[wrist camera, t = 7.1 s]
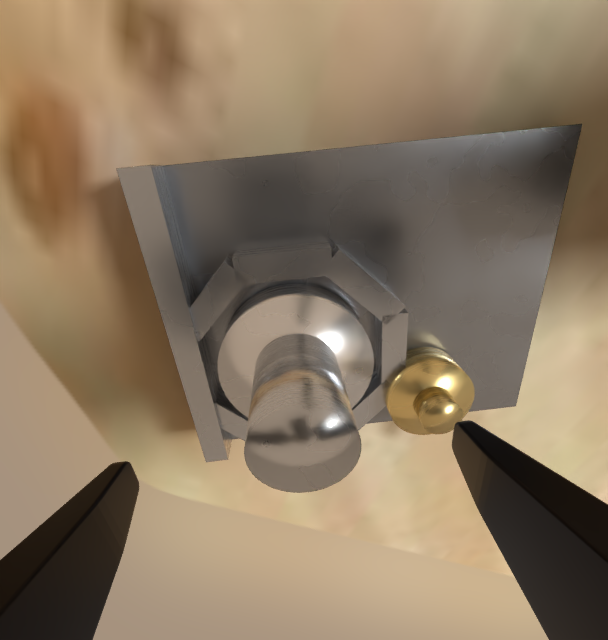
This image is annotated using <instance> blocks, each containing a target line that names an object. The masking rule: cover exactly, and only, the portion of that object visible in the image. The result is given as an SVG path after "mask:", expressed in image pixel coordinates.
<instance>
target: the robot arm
mask: <svg viewBox="0 0 608 640" xmlns="http://www.w3.org/2000/svg"><path fill="white" fill-rule="evenodd" d="M452 449H453V452H454V455H455V457H456V459H457V462H458V464H459V466H460V469H461V471H462V474H463V476H464V478H465V481H466V483H467V485H468V488H469V490H470V492H471V495H472V497H473V499H474V502H475V504H476V506H477V508H478V510H479V512H480V514H481V516H482V518H483V520H484V521H485V523H486V525H487V527H488V529H489V531H490V532H491V534H492V536H493V538H494V540H495V542H496V543H497V545H498V547H499V549H500V551H501V553H502V554H503V556H504V558H505V560H506V562H507V564H508V565H509V567H510V569H511V571H512V573H513V575H514V576H515V578H516V580H517V582H518V584H519V585H520V587H521V589H522V591H523V593H524V595H525V597H526V598H527V600H528V602H529V604H530V605H531V608H532V609H533V611H534V613H535V615H536V617H537V619H538V620H539V622H540V624H541V626H542V628H543V630H544V631H545V633H546V635H547V637H548V639H549V640H608V504H606V503H605V502H603V501H601V500H600V499H598V498H596V497H595V496H593V495H592V494H590V493H588V492H587V491H585V490H583V489H582V488H580V487H579V486H577V485H575V484H574V483H572V482H570V481H569V480H567V479H566V478H564V477H562V476H561V475H559V474H557V473H556V472H554V471H553V470H551V469H549V468H548V467H546V466H544V465H543V464H541V463H540V462H538V461H536V460H535V459H533V458H531V457H530V456H528V455H527V454H525V453H523V452H522V451H520V450H518V449H517V448H515V447H514V446H512V445H510V444H509V443H507V442H505V441H504V440H502V439H501V438H499V437H497V436H496V435H494V434H492V433H491V432H489V431H488V430H486V429H484V428H483V427H481V426H479V425H478V424H476V423H475V422H473V421H460V422H456V423H455V426H454V432H453V439H452ZM138 492H139V482H138V479H137V477H136V475H135V472H134V470H133V468H132V466H131V464H130V463H129V462H127V461H125V462H117V463H113V464H111V465H109V466H108V467H107V468H106V469H105V470H104V471H103V472H101V473H100V474H99V475H98V476H97V477H96V478H94V479H93V480H92V481H91V482H90V483H89V484H88V485H86V486H85V487H84V488H83V489H82V490H81V491H79V493H77V494H76V495H75V496H74V497H73V498H71V499H70V500H69V501H68V502H67V503H66V504H64V505H63V506H62V507H61V508H60V509H59V510H58V511H56V512H55V513H54V514H53V515H52V516H51V517H50V518H48V519H47V520H46V521H45V522H44V523H43V524H42V525H40V526H39V527H38V528H37V529H36V530H35V531H33V532H32V533H31V534H30V535H29V536H28V537H27V538H25V539H24V540H23V541H22V542H21V543H20V544H18V545H17V546H16V547H15V548H14V549H13V550H11V551H10V552H9V553H8V554H7V555H6V556H5V557H3V558H2V559H1V560H0V640H93V637H94V634H95V631H96V628H97V625H98V623H99V620H100V617H101V614H102V611H103V608H104V606H105V603H106V600H107V597H108V594H109V591H110V589H111V585H112V582H113V580H114V577H115V574H116V571H117V569H118V566H119V563H120V560H121V557H122V554H123V551H124V547H125V543H126V540H127V536H128V532H129V528H130V524H131V520H132V515H133V511H134V507H135V504H136V500H137V496H138Z"/></svg>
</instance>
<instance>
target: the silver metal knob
mask: <svg viewBox="0 0 608 640" xmlns="http://www.w3.org/2000/svg"><path fill="white" fill-rule="evenodd" d="M373 368H374V356H373V350H372V345H371V343H370V340H369V338H368V335H367V334H366V332H365V330H364V328H363V326H362V324H361V322H360V320H359V318H358V317H357V315H356V313H355V312H354V311H353V309H352V308H351V307H350V306H349V305H348V304H347V303H346V302H345V301H344V300H343V299H341V298H340V297H338V296H337V295H336V294H334V293H332V292H330V291H328V290H326V289H323V288H320V287H317V286H312V285H307V284H286V285H280V286H276V287H272V288H269V289H266V290H264V291H262V292H260V293H258V294H256V295H255V296H253V297H251V298H250V299H249V300H247V301H246V302H245V303H244V304H243V305H242V306H241V307H240V308H239V309H238V310H237V311H236V313H235V314H234V316H233V317H232V319H231V321H230V323H229V325H228V327H227V330H226V333H225V336H224V339H223V342H222V345H221V348H220V351H219V356H218V376H219V381H220V384H221V387H222V389H223V391H224V393H225V395H226V397H227V398H228V399H229V401H230V402H231V403H232V404H233V406H234V407H235V408H236V409H237V410H239V411H240V412H241V413H242V414H243V415H245V416H246V417H248V424H247V432H246V440H245V447H244V456H245V461H246V464H247V466H248V468H249V470H250V471H251V473H252V474H253V475H254V476H255V477H256V478H257V479H258V480H260V481H261V482H262V483H264V484H266V485H267V486H270V487H272V488H274V489H278V490H281V491H286V492H297V493H302V492H312V491H317V490H321V489H324V488H327V487H329V486H331V485H333V484H335V483H337V482H339V481H340V480H342V479H343V478H344V477H346V476H347V475H348V474H349V473H350V472H351V471H352V469H353V468H354V467H355V465H356V464H357V462H358V460H359V457H360V453H361V439H360V435H359V432H358V429H357V425H356V422H355V419H354V415H353V412H352V408H353V407H354V406H355V405H356V404H357V403H358V402H359V400H360V399H361V398H362V396H363V395H364V393H365V392H366V390H367V388H368V386H369V383H370V381H371V378H372V374H373Z"/></svg>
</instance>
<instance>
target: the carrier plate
mask: <svg viewBox="0 0 608 640" xmlns="http://www.w3.org/2000/svg"><path fill="white" fill-rule="evenodd" d="M581 128H582V124H576V125H566V126H556V127H546V128H536V129H526V130H516V131H506V132H496V133H486V134H476V135H466V136H456V137H446V138H436V139H426V140H416V141H406V142H396V143H386V144H376V145H366V146H356V147H346V148H336V149H326V150H316V151H306V152H296V153H286V154H276V155H266V156H256V157H246V158H236V159H226V160H216V161H205V162H195V163H185V164H175V165H165V166H160V165H147V166H137V167H127V168H117V169H116V170H117V173H118V176H119V179H120V183H121V186H122V189H123V192H124V196H125V199H126V202H127V205H128V209H129V212H130V215H131V219H132V222H133V225H134V228H135V232H136V235H137V238H138V241H139V245H140V248H141V251H142V255H143V258H144V261H145V264H146V268H147V271H148V274H149V277H150V281H151V284H152V287H153V290H154V294H155V297H156V300H157V304H158V307H159V310H160V313H161V317H162V320H163V323H164V326H165V330H166V333H167V336H168V339H169V343H170V346H171V349H172V353H173V356H174V359H175V362H176V366H177V369H178V372H179V375H180V379H181V382H182V385H183V389H184V392H185V395H186V398H187V402H188V405H189V408H190V411H191V415H192V418H193V421H194V424H195V428H196V431H197V434H198V438H199V441H200V444H201V447H202V451H203V454H204V457H205V460H206V462H211V461H219V460H228V458H229V453H230V447H231V442H232V439H242V440H244V441H245V440H246V432H247V424H248V417H246V416H245V415H243V414H242V413H241V412H240V411H239V410H237V409H236V408H235V407H234V406H233V404H232V403H231V402H230V401H229V399H228V398H227V397H226V395H225V393H224V391H223V389H222V387H221V384H220V381H219V376H218V356H219V351H220V348H221V345H222V342H223V339H224V336H225V333H226V330H227V327H228V325H229V323H230V321H231V319H232V317H233V316H234V314H235V313H236V311H237V310H238V309H239V308H240V307H241V306H242V305H243V304H244V303H245V302H246V301H247V300H249V299H250V298H251V297H253V296H255V295H256V294H258V293H260V292H262V291H264V290H266V289H269V288H272V287H276V286H280V285H286V284H307V285H312V286H317V287H320V288H323V289H326V290H328V291H330V292H332V293H334V294H336V295H337V296H338V297H340V298H341V299H343V300H344V301H345V302H346V303H347V304H348V305H349V306H350V307H351V308H352V309H353V311H354V312H355V313H356V315H357V317H358V318H359V320H360V322H361V324H362V326H363V328H364V330H365V332H366V334H367V335H368V338H369V340H370V343H371V345H372V350H373V356H374V368H373V374H372V378H371V381H370V383H369V386H368V388H367V390H366V392H365V393H364V395H363V396H362V398H361V399H360V400H359V402H358V403H357V404H356V405H355V406H354V407H353V408H352V412H353V415H354V419H355V422H356V425H357V429H358V430H360V429H361V428H362V427H363V426H364V425H365V424H368V423H376V422H385V421H394V423H395V424H396V425H397V426H398V427H399V428H401V429H402V430H404V431H406V432H409V433H412V434H418V435H427V434H444V433H447V432H450V431H452V430H453V429H454V426H455V423H456V422H460V421H462V418H463V417H464V416H465V415H466V414H467V412H470V411H479V410H487V409H496V408H504V407H513V406H516V403H517V399H518V395H519V391H520V386H521V382H522V378H523V374H524V369H525V365H526V361H527V357H528V352H529V348H530V344H531V340H532V335H533V331H534V327H535V323H536V318H537V314H538V310H539V306H540V301H541V297H542V293H543V289H544V285H545V280H546V276H547V272H548V268H549V263H550V259H551V255H552V251H553V246H554V242H555V238H556V234H557V229H558V225H559V221H560V217H561V212H562V208H563V204H564V200H565V195H566V191H567V187H568V183H569V179H570V174H571V170H572V166H573V162H574V157H575V153H576V149H577V145H578V140H579V136H580V132H581Z"/></svg>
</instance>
